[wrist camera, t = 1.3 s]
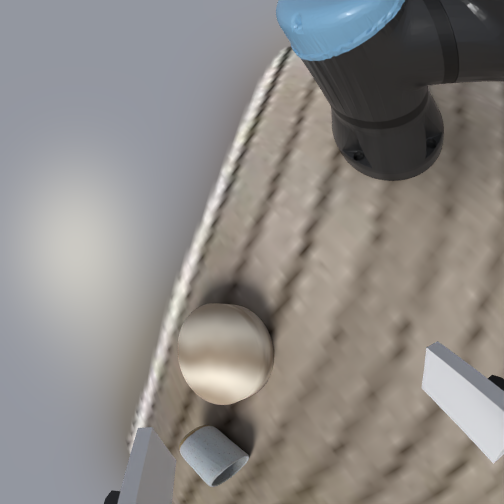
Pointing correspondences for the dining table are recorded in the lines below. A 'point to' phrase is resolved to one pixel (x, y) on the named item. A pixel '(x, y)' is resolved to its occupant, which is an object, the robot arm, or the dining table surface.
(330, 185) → the dining table surface
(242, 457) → the ceramic mug
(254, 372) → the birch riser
